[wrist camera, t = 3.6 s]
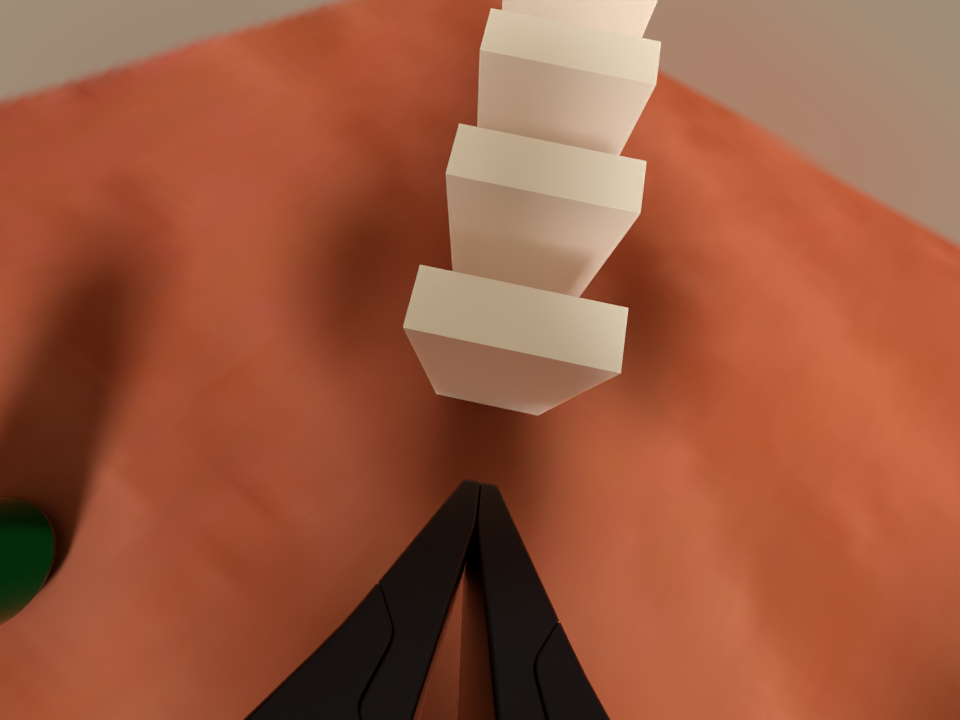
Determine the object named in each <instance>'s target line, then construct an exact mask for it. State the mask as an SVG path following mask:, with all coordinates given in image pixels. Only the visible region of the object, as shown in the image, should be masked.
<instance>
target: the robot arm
mask: <svg viewBox="0 0 960 720" xmlns="http://www.w3.org/2000/svg"><path fill="white" fill-rule="evenodd" d="M464 567H465V570H464ZM463 571H464V582H463V605H462V630H461V654H460V678H459V702H458V720H610V718H609V717H608V715H607V713H606V711H605V710H604V708H603V706H602V704H601V702H600V700H599V699H598V697H597V695H596V693H595V691H594V689H593V688H592V686H591V684H590V682H589V680H588V679H587V677H586V675H585V673H584V671H583V669H582V667H581V665H580V662H579V660H578V658H577V656H576V654H575V652H574V650H573V648H572V646H571V644H570V642H569V640H568V638H567V635H566V633H565V631H564V629H563V627H562V624H561V623H558V621H559V619H558V617H557V615H556V612H555V610H554V608H553V606H552V604H551V602H550V599H549V597H548V595H547V593H546V591H545V588H544V586H543V584H542V582H541V580H540V578H539V575H538V573H537V571H536V569H535V567H534V564H533V562H532V560H531V558H530V556H529V554H528V551H527V549H526V547H525V545H524V543H523V540H522V538H521V536H520V534H519V532H518V530H517V527H516V525H515V523H514V521H513V519H512V516H511V514H510V512H509V510H508V508H507V506H506V503H505V501H504V499H503V497H502V495H501V492H500V490H499V488H498V487H497V486H496V485H492V484H488V483H481V485H480V483H479V482H478V481H473V480H469V479H464V480H463V481H462V482H461V483H460V484H459V485H458V487H457V488H456V489H455V490H454V491H453V493H452V494H451V495H450V496H449V497H448V499H447V500H446V501H445V502H444V503H443V505H442V506H441V507H440V508H439V509H438V511H437V512H436V513H435V514H434V515H433V517H432V518H431V519H430V520H429V521H428V523H427V524H426V525H425V526H424V527H423V529H422V530H421V531H420V532H419V533H418V535H417V536H416V537H415V538H414V540H413V541H412V542H411V543H410V544H409V546H408V547H407V548H406V549H405V550H404V552H403V553H402V554H401V555H400V556H399V558H398V559H397V560H396V561H395V562H394V564H393V565H392V566H391V567H390V568H389V570H388V571H387V572H386V573H385V574H384V576H383V577H382V578H381V579H380V580H379V584H376V585H375V586H374V587H373V588H372V589H371V591H370V592H369V593H368V594H367V595H366V597H365V598H364V599H363V600H362V601H361V602H360V604H359V605H358V606H357V607H356V608H355V609H354V610H353V611H352V613H351V614H350V615H349V616H348V617H347V618H346V619H345V620H344V622H343V623H342V624H341V625H340V626H339V627H338V628H337V629H336V630H335V631H334V632H333V633H332V634H331V635H330V636H329V637H328V638H327V639H326V640H325V641H324V642H323V643H322V644H321V645H320V646H319V647H318V648H317V649H316V650H315V651H314V652H313V653H312V654H311V655H310V656H309V657H308V658H307V659H306V660H305V661H304V662H303V663H302V664H301V665H300V666H299V667H297V668H296V669H295V670H294V671H293V672H292V673H291V674H290V675H289V676H288V677H287V678H286V679H285V680H284V681H283V682H282V683H281V684H280V685H279V686H278V687H277V688H276V689H275V690H274V691H273V692H272V693H271V694H269V695H268V696H267V697H266V698H265V699H264V700H263V701H262V702H261V703H260V704H259V705H258V706H257V707H256V708H255V709H254V710H253V711H252V712H251V713H250V714H249V715H248V716H247V717H246V718H245V719H244V720H420V717H421V714H422V711H423V707H424V704H425V700H426V697H427V694H428V690H429V687H430V684H431V680H432V677H433V674H434V670H435V667H436V663H437V660H438V657H439V653H440V650H441V647H442V643H443V640H444V636H445V633H446V630H447V626H448V623H449V620H450V616H451V613H452V609H453V606H454V603H455V599H456V596H457V593H458V589H459V586H460V582H461V579H462V575H463Z"/></svg>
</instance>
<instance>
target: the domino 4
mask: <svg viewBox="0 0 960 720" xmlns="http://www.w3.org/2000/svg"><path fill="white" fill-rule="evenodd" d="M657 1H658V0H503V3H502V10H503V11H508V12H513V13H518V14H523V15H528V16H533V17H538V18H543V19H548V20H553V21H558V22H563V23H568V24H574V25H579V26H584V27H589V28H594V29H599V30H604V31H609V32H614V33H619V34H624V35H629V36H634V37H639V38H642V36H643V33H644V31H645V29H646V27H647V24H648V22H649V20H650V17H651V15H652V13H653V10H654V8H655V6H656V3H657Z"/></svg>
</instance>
